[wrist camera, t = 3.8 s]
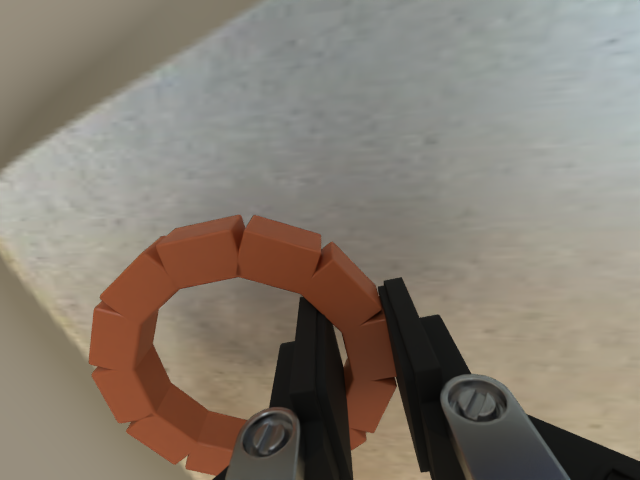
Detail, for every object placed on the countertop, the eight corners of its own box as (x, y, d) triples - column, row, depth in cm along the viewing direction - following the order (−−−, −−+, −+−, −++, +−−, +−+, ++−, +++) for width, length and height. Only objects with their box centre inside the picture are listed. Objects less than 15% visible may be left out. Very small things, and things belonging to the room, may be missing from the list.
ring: (65, 252, 10) (31, 272, 9) (361, 187, 10) (366, 199, 8) (173, 461, 13) (158, 497, 12) (405, 424, 13) (414, 459, 11)
